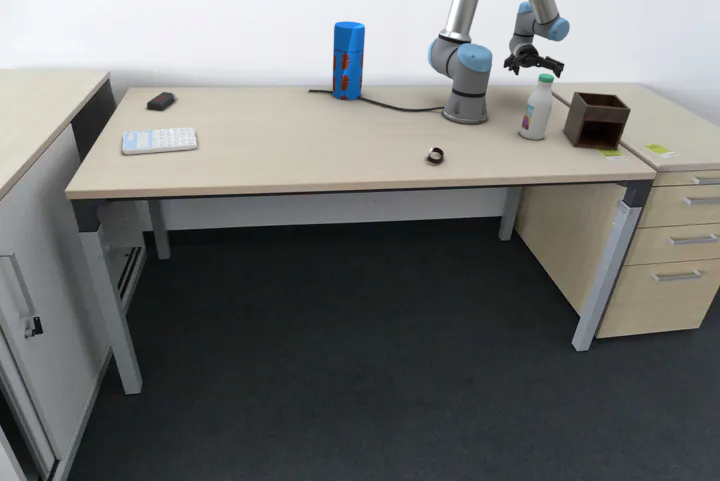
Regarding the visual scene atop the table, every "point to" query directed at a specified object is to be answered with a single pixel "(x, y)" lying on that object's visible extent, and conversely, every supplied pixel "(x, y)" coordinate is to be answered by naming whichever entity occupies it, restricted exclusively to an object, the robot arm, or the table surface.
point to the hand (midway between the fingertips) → (538, 72)
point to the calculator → (159, 140)
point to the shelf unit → (596, 120)
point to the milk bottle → (538, 109)
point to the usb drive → (161, 101)
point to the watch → (436, 152)
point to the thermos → (348, 59)
